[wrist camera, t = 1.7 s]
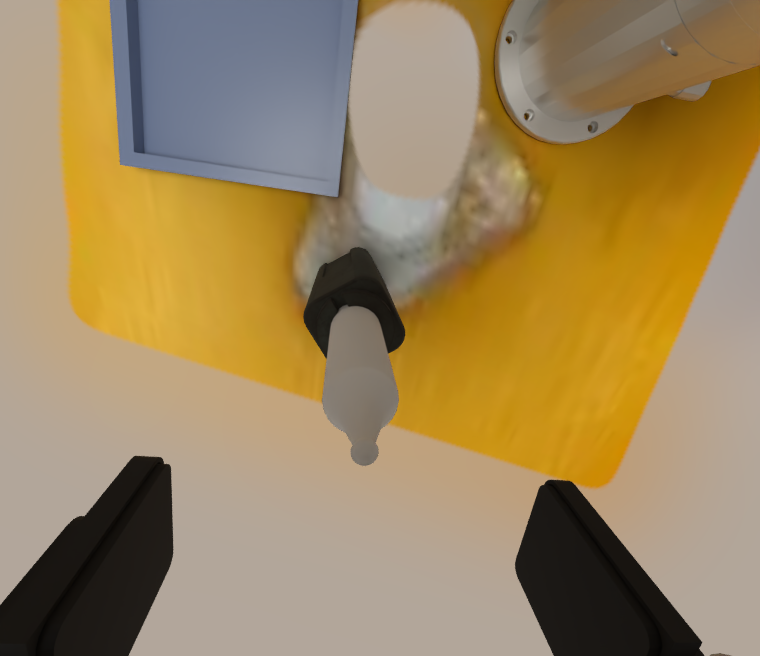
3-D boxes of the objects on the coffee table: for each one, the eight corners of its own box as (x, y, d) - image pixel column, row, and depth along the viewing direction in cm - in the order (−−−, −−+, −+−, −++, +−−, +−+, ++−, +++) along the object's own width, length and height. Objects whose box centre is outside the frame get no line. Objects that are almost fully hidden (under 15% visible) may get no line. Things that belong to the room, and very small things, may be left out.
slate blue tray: (362, -38, 28) (363, -57, 25) (338, 197, 33) (337, 197, 30) (121, -93, 26) (102, -119, 23) (135, 166, 31) (120, 164, 28)
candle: (363, 242, 34) (404, 351, 10) (389, 292, 36) (475, 483, 12) (312, 269, 34) (241, 434, 11) (341, 317, 36) (332, 550, 12)
